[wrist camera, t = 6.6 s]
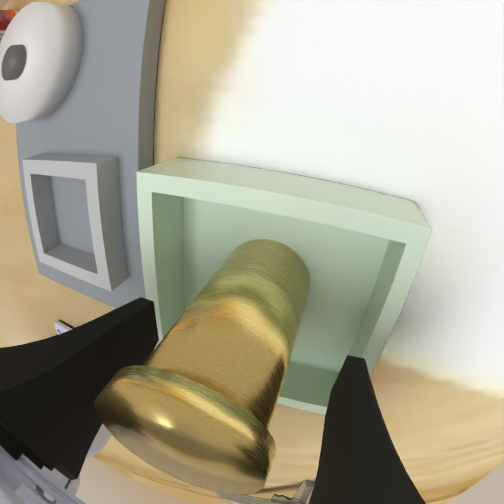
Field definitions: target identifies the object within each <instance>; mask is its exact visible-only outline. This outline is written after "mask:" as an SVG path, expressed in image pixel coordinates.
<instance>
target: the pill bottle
mask: <svg viewBox="0 0 504 504" xmlns="http://www.w3.org/2000/svg"><path fill="white" fill-rule="evenodd" d="M17 13H18V11H15V10H0V42H1V40H2V37H3V35H4V33H5V31H6V29H7V27H8V25H9V24H10V22H11V21H12V19H13V18H14V17H15V15H16V14H17Z"/></svg>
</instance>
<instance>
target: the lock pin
mask: <svg viewBox="0 0 504 504" xmlns="http://www.w3.org/2000/svg"><path fill="white" fill-rule="evenodd" d="M309 290H310V275H309V271H308V269H307V266H306V264H305V263H304V261H303V260H302V258H301V257H300V256H299V255H298V254H297V253H296V252H295V251H294V250H292V249H291V248H290V247H288V246H286V245H284V244H282V243H280V242H277V241H274V240H269V239H254V240H250V241H247V242H244V243H242V244H241V245H239V246H238V247H237V248H235V249H234V250H233V252H232V253H231V254H230V255H229V256H228V258H227V259H226V260H225V261H224V263H223V264H222V265H221V266H220V267H219V269H218V270H217V271H216V272H215V274H214V275H213V276H212V277H211V279H210V280H209V281H208V282H207V284H206V285H205V286H204V287H203V289H202V290H201V291H200V292H199V294H198V295H197V296H196V297H195V299H194V300H193V301H192V302H191V304H190V305H189V306H188V307H187V309H186V310H185V311H184V312H183V314H182V315H181V316H180V318H179V319H178V320H177V321H176V323H175V324H174V325H173V326H172V328H171V329H170V330H169V331H168V333H167V334H166V335H165V336H164V338H163V339H162V340H161V342H160V343H159V344H158V345H157V347H156V348H155V349H154V350H153V352H152V353H151V354H150V356H149V357H148V358H147V359H146V361H145V362H144V363H143V365H142V366H141V365H134V366H127V367H124V368H122V369H120V370H119V371H118V372H117V373H116V374H115V376H114V377H113V378H112V379H111V380H110V382H109V383H108V384H107V385H106V387H105V388H104V389H103V390H102V391H101V393H100V394H99V395H98V396H97V398H96V399H95V402H94V407H95V410H96V413H97V415H98V417H99V419H100V420H101V422H102V423H103V425H104V426H105V427H106V428H107V430H108V431H109V432H110V433H111V434H112V435H113V436H114V437H115V438H116V439H117V440H118V441H119V442H120V443H121V444H122V445H124V446H125V447H126V448H127V449H128V450H130V451H131V452H132V453H134V454H135V455H136V456H138V457H139V458H141V459H142V460H144V461H145V462H147V463H148V464H150V465H151V466H153V467H155V468H157V469H158V470H160V471H162V472H164V473H166V474H168V475H170V476H172V477H174V478H176V479H179V480H181V481H183V482H186V483H189V484H191V485H194V486H197V487H200V488H204V489H207V490H211V491H216V492H221V493H228V494H251V493H255V492H258V491H260V490H261V489H262V488H263V487H264V486H265V483H266V480H267V477H268V474H269V471H270V468H271V465H272V462H273V459H274V456H275V452H276V445H275V442H274V440H273V437H272V436H271V434H270V433H269V431H268V427H269V424H270V421H271V418H272V415H273V412H274V409H275V406H276V403H277V400H278V397H279V394H280V391H281V388H282V384H283V381H284V378H285V375H286V372H287V368H288V365H289V362H290V358H291V355H292V352H293V348H294V345H295V341H296V338H297V334H298V331H299V327H300V324H301V320H302V316H303V313H304V309H305V305H306V301H307V298H308V294H309Z"/></svg>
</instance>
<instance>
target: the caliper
mask: <svg viewBox="0 0 504 504" xmlns="http://www.w3.org/2000/svg"><path fill="white" fill-rule="evenodd" d="M313 484H314V482H312V481H310V480H304V482H303V483H302V484H301V486H300V487H299V489H298V490H297V492H296V493H295V494H294V496H293V497H292V498H291V499H290V498H289V497H286V496H284V495H280V496H279V495H277V494H274V495H273V497H272V499H271V500H270V499H264V498H258V497H252V496H247V495H242V494H228V493H220V492H216V493H217V494H218V495H219V497H218V498H220V499H222V500H225V501H228V502H232V503H236V504H308V503H309V500H310V497H311V494H312V491H313V487H314V486H313ZM312 486H313V487H312ZM305 502H306V503H305Z"/></svg>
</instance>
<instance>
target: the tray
mask: <svg viewBox="0 0 504 504" xmlns="http://www.w3.org/2000/svg"><path fill="white" fill-rule="evenodd" d="M136 173H137V202H138V220H139V235H140V247H141V258H142V268H143V277H144V286H145V294H146V299H148V300H151V301H154V307H155V315H156V322H157V330H158V337H159V341H158V343H157V345H158V344H159V343H160V342H161V340H162V339H163V338H164V336H165V335H166V334H167V333H168V331H169V330H170V329H171V328H172V326H173V325H174V324H175V323H176V321H177V320H178V319H179V318H180V316H181V315H182V314H183V312H184V311H185V310H186V309H187V307H188V306H189V305H190V304H191V302H192V301H193V300H194V299H195V297H196V296H197V295H198V294H199V292H200V291H201V290H202V289H203V287H204V286H205V285H206V284H207V282H208V281H209V280H210V279H211V277H212V276H213V275H214V274H215V272H216V271H217V270H218V269H219V267H220V266H221V265H222V264H223V263H224V261H225V260H226V259H227V258H228V256H229V255H230V254H231V253H232V252H233V250H234V249H235V248H237V247H238V246H239V245H241V244H242V243H244V242H247V241H250V240H254V239H269V240H274V241H277V242H280V243H282V244H284V245H286V246H288V247H290V248H291V249H292V250H294V251H295V252H296V253H297V254H298V255H299V256H300V257H301V258H302V260H303V261H304V263H305V264H306V266H307V269H308V271H309V275H310V290H309V294H308V298H307V301H306V305H305V309H304V313H303V316H302V320H301V324H300V327H299V331H298V334H297V338H296V341H295V345H294V348H293V352H292V355H291V358H290V362H289V365H288V368H287V372H286V375H285V378H284V381H283V384H282V388H281V391H280V394H279V397H278V400H277V403H276V404H280V405H284V406H288V407H292V408H296V409H301V410H305V411H309V412H314V413H319V414H324V415H326V411H327V406H328V402H329V398H330V393H331V390H332V388H333V386H334V383H335V381H336V379H337V377H338V375H339V373H340V370H341V368H342V366H343V364H344V361H345V359H346V357H347V355H350V356H355V357H360V358H364V359H365V361H366V364H367V368H368V372H369V375H370V373H371V371H372V369H373V368H374V366H375V364H376V362H377V360H378V358H379V356H380V354H381V352H382V350H383V348H384V346H385V344H386V342H387V340H388V338H389V336H390V334H391V332H392V329H393V327H394V325H395V323H396V321H397V319H398V316H399V314H400V312H401V310H402V307H403V305H404V303H405V300H406V298H407V295H408V293H409V291H410V288H411V286H412V283H413V281H414V278H415V275H416V273H417V270H418V267H419V265H420V262H421V259H422V256H423V254H424V251H425V248H426V245H427V242H428V239H429V236H430V233H431V230H432V228H431V227H430V225H429V223H428V222H427V220H426V219H425V217H424V216H423V214H422V213H421V211H420V210H419V208H418V207H417V205H416V204H415V202H414V201H410V200H406V199H403V198H399V197H395V196H391V195H387V194H383V193H379V192H375V191H371V190H367V189H362V188H358V187H354V186H349V185H344V184H340V183H335V182H330V181H326V180H321V179H316V178H311V177H305V176H300V175H295V174H289V173H284V172H278V171H272V170H266V169H260V168H253V167H247V166H240V165H233V164H226V163H219V162H211V161H203V160H194V159H185V158H174V159H171V160H168V161H165V162H162V163H159V164H156V165H154V166H151V167H148V168H145V169H143V170H140V171H137V172H136ZM157 345H156V346H155V348H156V347H157ZM155 348H154V349H155Z"/></svg>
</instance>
